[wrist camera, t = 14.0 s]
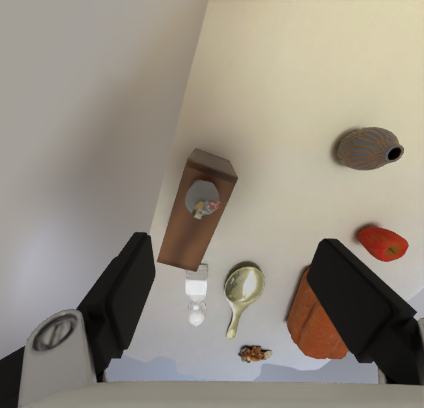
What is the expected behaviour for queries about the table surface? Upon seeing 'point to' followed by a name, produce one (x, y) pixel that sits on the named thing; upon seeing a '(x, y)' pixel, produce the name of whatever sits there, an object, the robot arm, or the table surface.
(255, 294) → the spoon
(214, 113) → the table surface
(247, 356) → the pastry
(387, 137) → the vase
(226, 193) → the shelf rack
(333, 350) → the bread
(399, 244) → the apple
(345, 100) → the table surface
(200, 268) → the container set
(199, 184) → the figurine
